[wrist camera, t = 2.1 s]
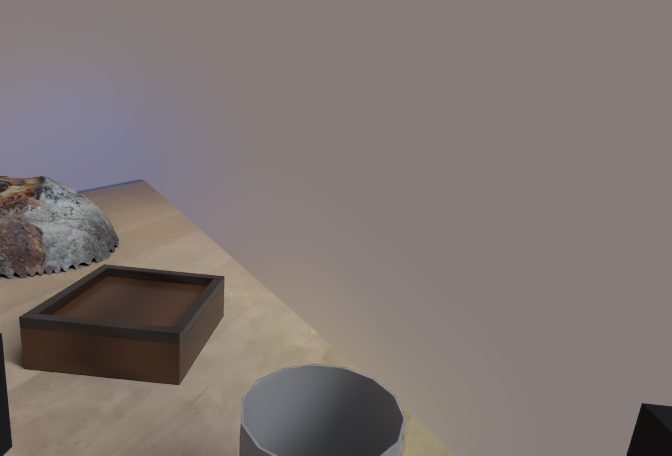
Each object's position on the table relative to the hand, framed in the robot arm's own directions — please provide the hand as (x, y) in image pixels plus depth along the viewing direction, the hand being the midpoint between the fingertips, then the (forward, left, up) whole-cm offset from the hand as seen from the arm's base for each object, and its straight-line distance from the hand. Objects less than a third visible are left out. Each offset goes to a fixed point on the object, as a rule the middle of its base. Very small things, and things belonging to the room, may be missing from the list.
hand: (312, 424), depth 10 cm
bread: (+50, -59, -19) cm, 80 cm away
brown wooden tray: (+20, -34, -19) cm, 44 cm away
